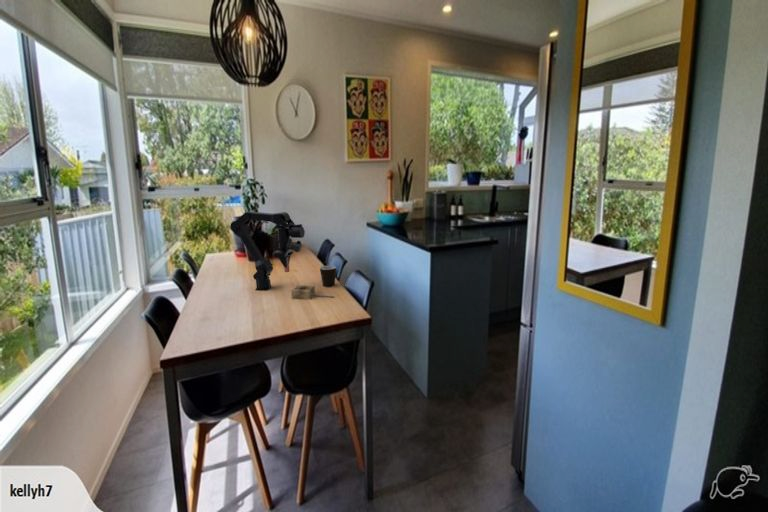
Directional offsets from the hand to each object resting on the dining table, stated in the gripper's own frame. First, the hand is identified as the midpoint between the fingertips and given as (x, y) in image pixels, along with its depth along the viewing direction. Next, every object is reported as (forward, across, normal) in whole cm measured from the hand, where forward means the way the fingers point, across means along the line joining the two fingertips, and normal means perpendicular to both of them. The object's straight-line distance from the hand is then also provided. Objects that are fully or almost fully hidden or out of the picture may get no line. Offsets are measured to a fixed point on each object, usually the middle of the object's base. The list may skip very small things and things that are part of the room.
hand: (286, 266), depth 191 cm
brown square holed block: (+13, -9, -11) cm, 19 cm away
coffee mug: (+13, +10, -20) cm, 26 cm away
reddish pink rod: (+2, 0, 0) cm, 2 cm away
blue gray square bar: (+13, -9, -22) cm, 27 cm away
